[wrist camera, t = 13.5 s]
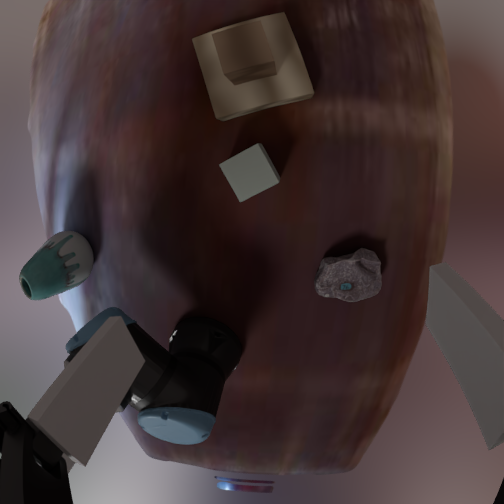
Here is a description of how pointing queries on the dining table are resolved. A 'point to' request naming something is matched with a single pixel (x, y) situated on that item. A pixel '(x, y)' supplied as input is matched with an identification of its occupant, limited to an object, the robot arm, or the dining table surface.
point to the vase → (57, 266)
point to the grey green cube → (250, 172)
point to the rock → (349, 276)
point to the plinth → (261, 90)
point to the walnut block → (244, 53)
